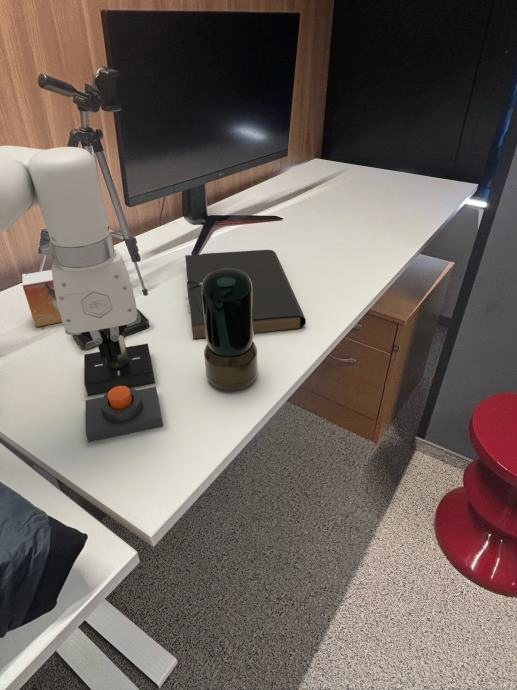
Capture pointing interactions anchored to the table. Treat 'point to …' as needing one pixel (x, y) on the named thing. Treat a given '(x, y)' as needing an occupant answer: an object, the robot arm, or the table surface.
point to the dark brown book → (268, 289)
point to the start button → (119, 397)
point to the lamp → (229, 329)
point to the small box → (41, 297)
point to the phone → (89, 343)
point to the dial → (120, 356)
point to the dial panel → (118, 371)
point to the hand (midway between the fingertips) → (112, 358)
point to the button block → (122, 415)
